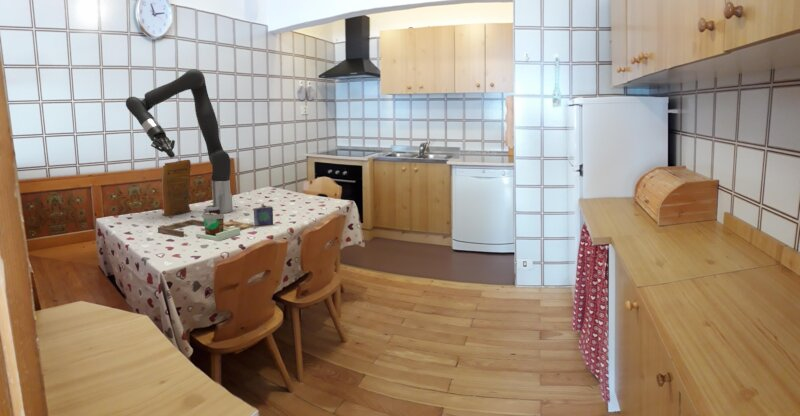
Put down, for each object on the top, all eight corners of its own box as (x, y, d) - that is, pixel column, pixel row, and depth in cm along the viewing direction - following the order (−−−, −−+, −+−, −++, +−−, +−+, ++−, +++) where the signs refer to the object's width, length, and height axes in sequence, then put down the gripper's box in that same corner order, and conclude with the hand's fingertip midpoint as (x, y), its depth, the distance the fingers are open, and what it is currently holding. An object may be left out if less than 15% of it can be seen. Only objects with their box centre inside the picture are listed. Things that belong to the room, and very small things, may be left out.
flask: (254, 226, 248) (254, 204, 245) (253, 225, 250) (252, 203, 248) (273, 224, 252) (273, 203, 250) (272, 223, 255) (271, 202, 252)
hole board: (232, 222, 254) (232, 220, 254) (253, 226, 248) (253, 224, 248) (210, 228, 242) (210, 226, 242) (232, 232, 236) (232, 230, 236)
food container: (196, 233, 233) (195, 212, 231) (208, 231, 238) (207, 209, 236) (213, 238, 226) (212, 216, 224) (225, 235, 231) (224, 213, 229)
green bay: (218, 230, 239) (218, 224, 238) (240, 234, 233) (239, 227, 233) (196, 236, 228) (195, 230, 227) (218, 240, 222) (217, 234, 221)
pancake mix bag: (197, 211, 279) (194, 159, 273) (167, 217, 263) (163, 163, 257) (189, 209, 282) (186, 158, 277) (158, 216, 266) (154, 162, 260)
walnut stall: (192, 223, 251) (192, 219, 251) (215, 227, 244) (215, 223, 244) (158, 232, 234) (157, 227, 234) (181, 236, 227) (181, 232, 227)
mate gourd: (202, 222, 253) (200, 192, 250) (213, 219, 261) (212, 190, 258) (214, 224, 251) (213, 194, 248) (225, 221, 258) (224, 191, 255)
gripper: (145, 125, 246) (164, 152, 244) (168, 124, 258) (187, 150, 255) (138, 136, 250) (157, 163, 247) (162, 134, 261) (180, 160, 258)
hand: (172, 156), depth 251 cm, fingers closed
